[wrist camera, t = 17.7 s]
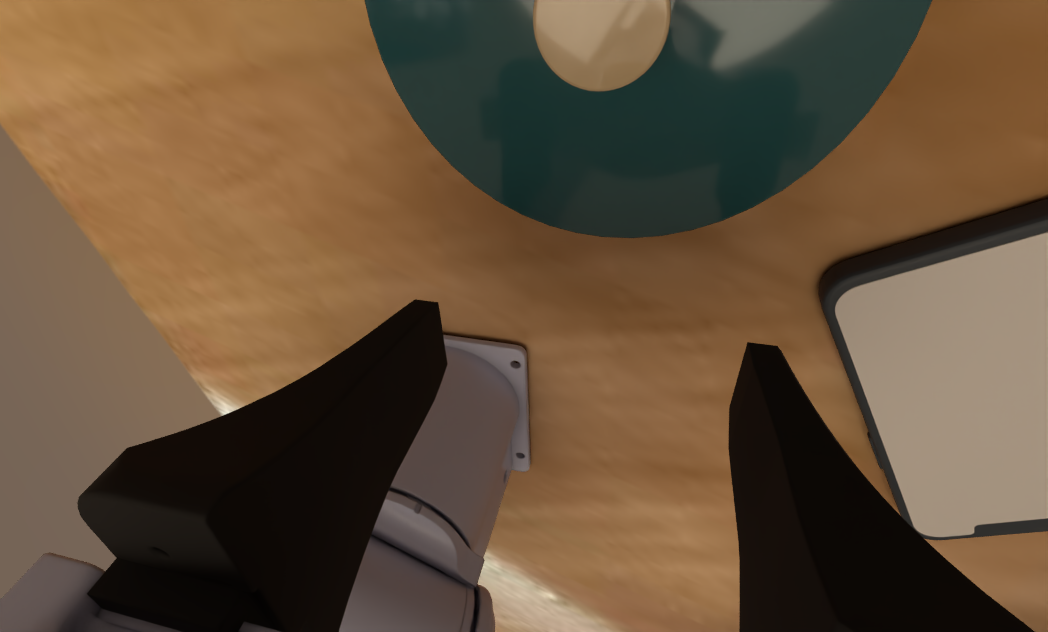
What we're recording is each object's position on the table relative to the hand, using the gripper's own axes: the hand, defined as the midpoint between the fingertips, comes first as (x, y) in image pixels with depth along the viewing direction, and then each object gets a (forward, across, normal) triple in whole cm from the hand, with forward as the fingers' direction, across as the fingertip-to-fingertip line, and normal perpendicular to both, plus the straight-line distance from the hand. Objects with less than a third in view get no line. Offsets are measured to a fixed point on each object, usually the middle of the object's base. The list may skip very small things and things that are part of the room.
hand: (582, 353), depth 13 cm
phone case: (+11, -15, +8) cm, 20 cm away
